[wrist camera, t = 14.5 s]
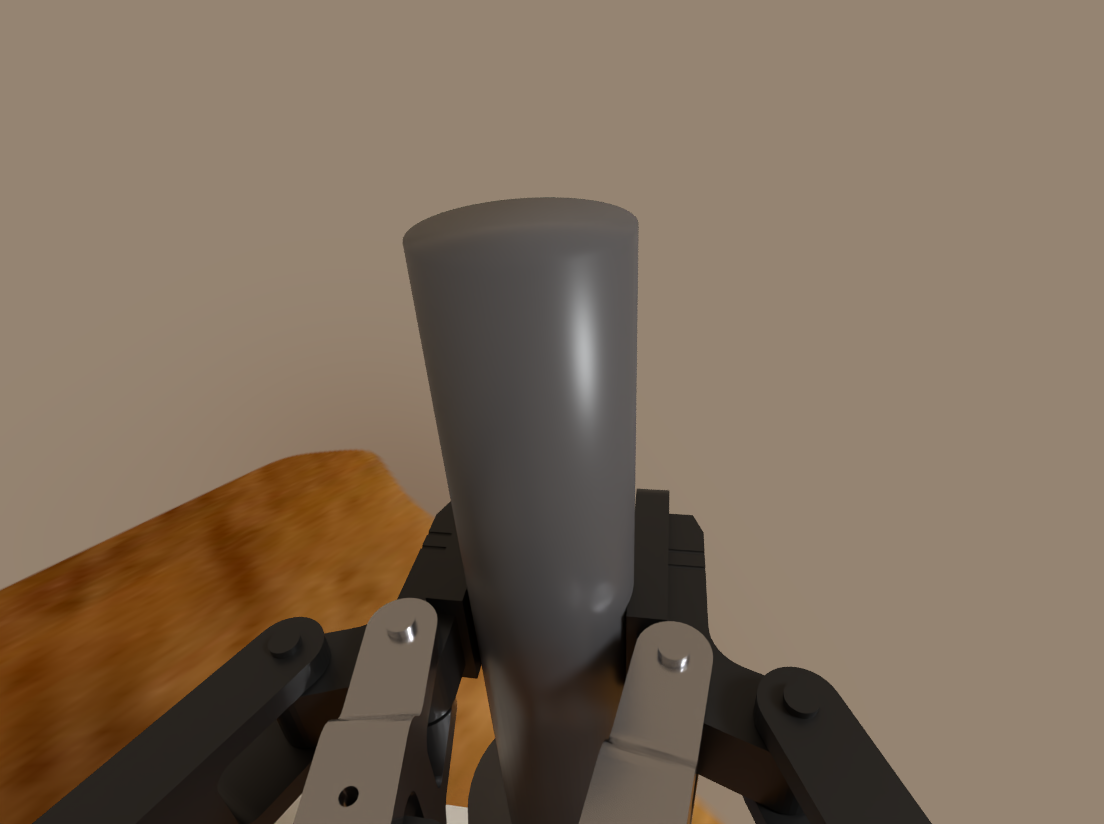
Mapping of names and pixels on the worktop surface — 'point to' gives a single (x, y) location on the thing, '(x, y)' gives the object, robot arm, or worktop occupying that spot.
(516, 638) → the grey pestle
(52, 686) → the worktop surface
